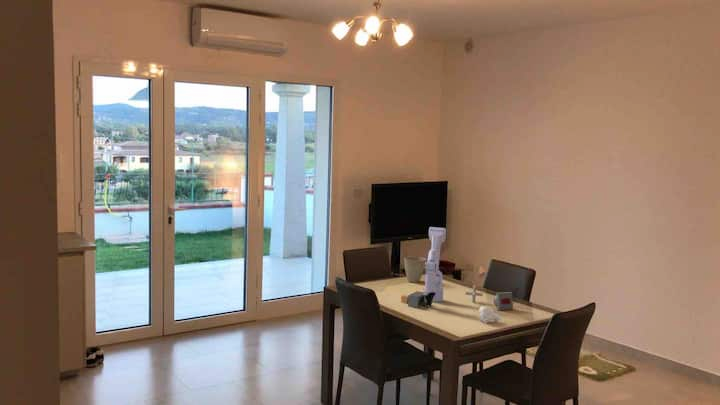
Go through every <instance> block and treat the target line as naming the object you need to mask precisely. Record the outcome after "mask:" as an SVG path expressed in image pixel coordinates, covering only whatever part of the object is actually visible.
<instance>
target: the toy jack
mask: <svg viewBox="0 0 720 405" xmlns="http://www.w3.org/2000/svg"><path fill="white" fill-rule="evenodd" d="M465 295H467V296H472V298H471V302H472V303H476V297H477V296H478V297H479V296H480V297H483V296H484V293H482V292H477V285H472V291H465Z"/></svg>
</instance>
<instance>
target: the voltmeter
mask: <svg viewBox="0 0 720 405" xmlns="http://www.w3.org/2000/svg"><path fill="white" fill-rule="evenodd" d="M519 289H520V287H518V288H515V290H512V292H510V291H507V292H496V293H495V294H496V295H495V296H494V297H493V301H492V302H493V305H494V306H495V307H496V310H497V311H507V310H513V309H514V304H515V303H517V300H516V298H517V297H518V295H517V290H519ZM506 309H507V310H506Z"/></svg>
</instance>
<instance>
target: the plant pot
mask: <svg viewBox="0 0 720 405" xmlns="http://www.w3.org/2000/svg"><path fill="white" fill-rule="evenodd" d="M403 262H404V270H405V275H406V279H407V281H408V282H409V283H413V284H417V283H420V281H421V278H422V275H423V273H424V270H425V267H426V262H427V259H426V258H424V257H421V256H420V257H419V256H405V257H403Z"/></svg>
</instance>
